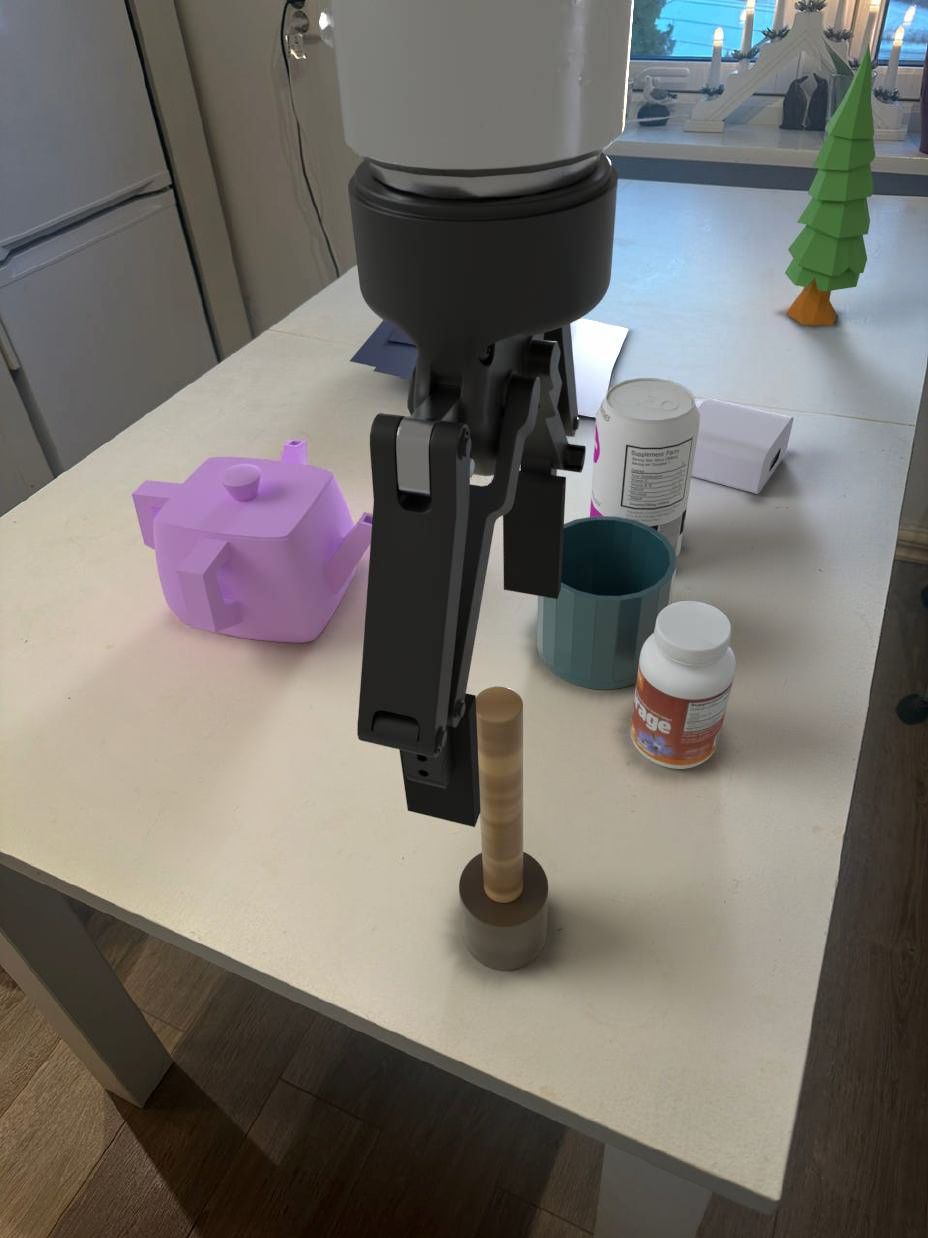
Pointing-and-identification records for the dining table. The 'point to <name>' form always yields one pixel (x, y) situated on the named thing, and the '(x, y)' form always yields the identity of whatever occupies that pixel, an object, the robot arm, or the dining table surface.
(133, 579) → the dining table surface
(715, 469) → the charger
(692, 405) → the supplement can
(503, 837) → the brush
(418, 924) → the dining table surface
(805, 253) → the decorative tree
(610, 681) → the jar
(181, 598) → the teakettle
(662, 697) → the pill bottle
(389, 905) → the dining table surface
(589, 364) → the dark blue flat slab
